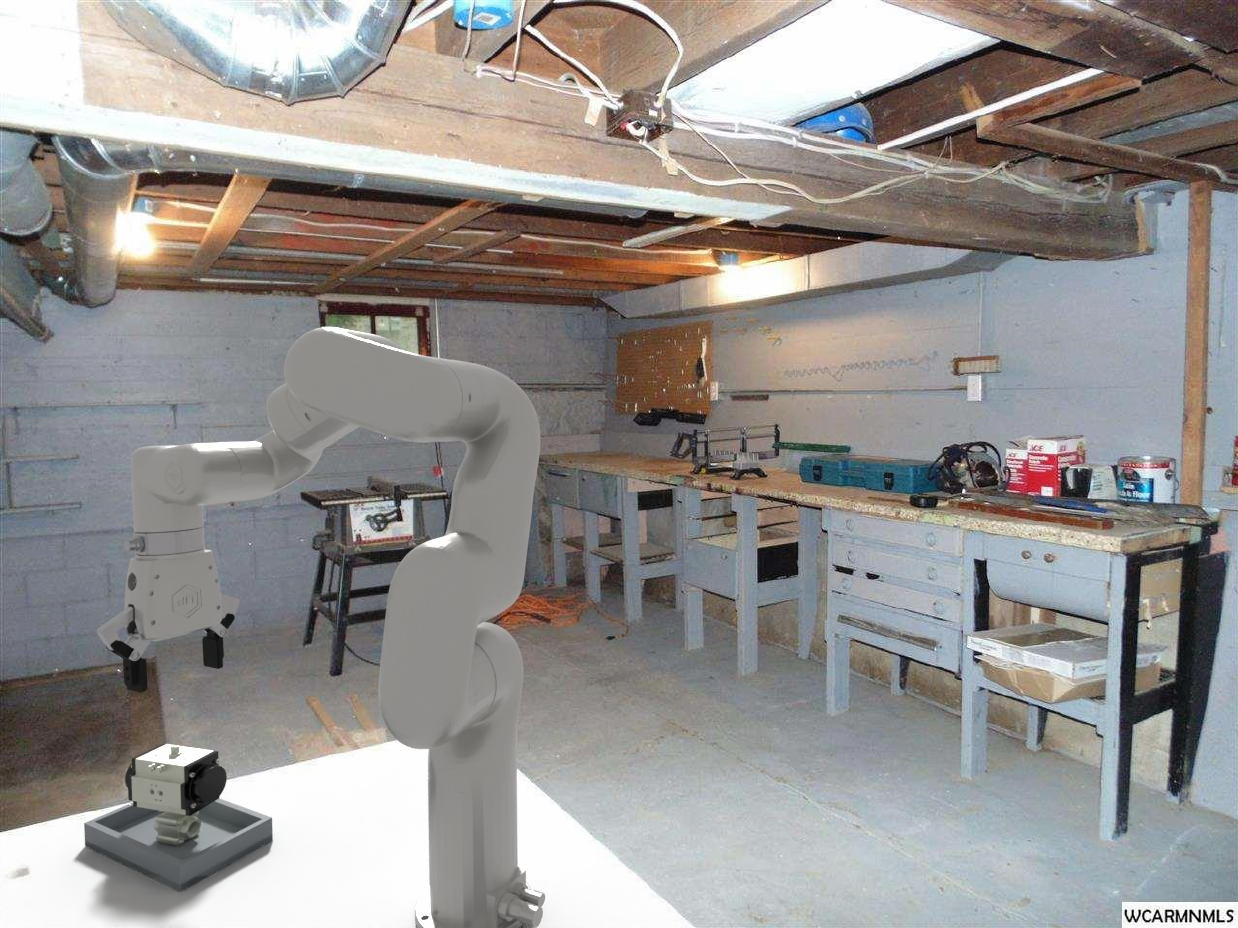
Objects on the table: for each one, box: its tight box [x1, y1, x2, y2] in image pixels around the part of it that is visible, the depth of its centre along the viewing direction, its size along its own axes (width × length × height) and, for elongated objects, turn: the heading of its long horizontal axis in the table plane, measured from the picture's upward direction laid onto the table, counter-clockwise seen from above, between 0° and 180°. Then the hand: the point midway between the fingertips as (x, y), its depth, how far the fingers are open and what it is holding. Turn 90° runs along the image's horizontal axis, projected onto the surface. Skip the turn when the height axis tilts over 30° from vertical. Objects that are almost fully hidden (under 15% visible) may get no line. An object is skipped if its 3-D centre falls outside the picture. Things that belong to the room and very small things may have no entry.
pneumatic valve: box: [124, 743, 228, 846], centre depth 94 cm, size 6×12×12 cm, turn 74°
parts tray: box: [83, 798, 274, 893], centre depth 95 cm, size 20×12×3 cm, turn 62°
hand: (177, 678), depth 94 cm, fingers open, 9 cm apart
